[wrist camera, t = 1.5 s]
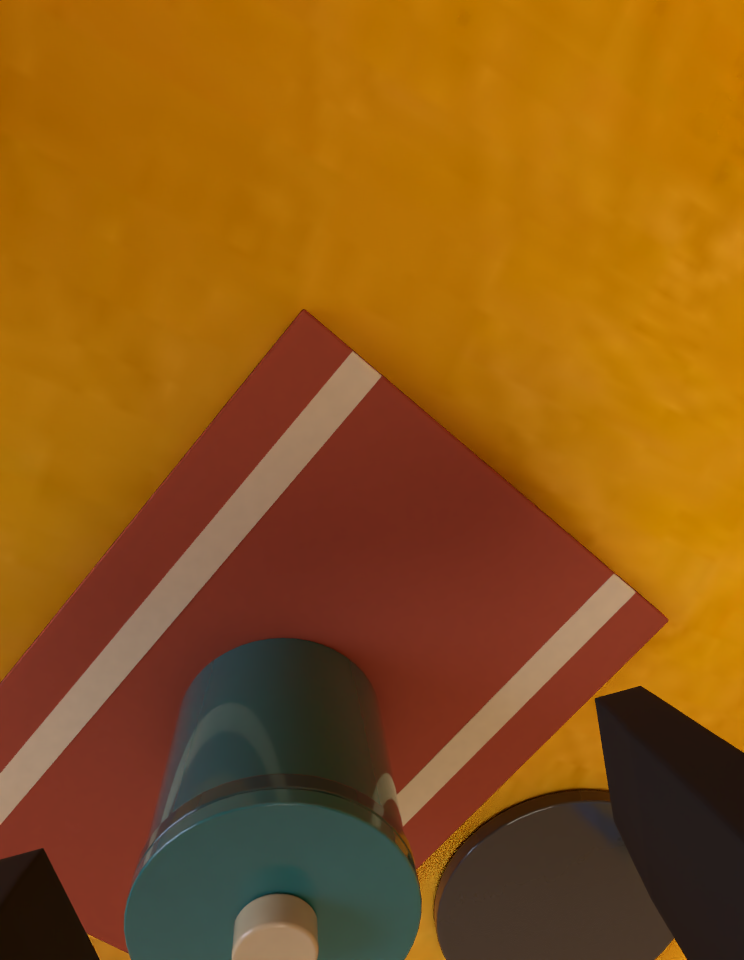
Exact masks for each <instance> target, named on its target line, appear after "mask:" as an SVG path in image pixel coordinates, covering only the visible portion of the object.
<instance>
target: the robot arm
mask: <svg viewBox="0 0 744 960" xmlns="http://www.w3.org/2000/svg"><path fill="white" fill-rule="evenodd" d="M595 703H596V709H597V716H598V722H599V729H600V735H601V742H602V748H603V755H604V761H605V768H606V774H607V780H608V787H609V793H610V800H611V806H612V813H613V819H614V822H615V825H616V827H617V829H618V831H619V833H620V835H621V837H622V839H623V842H624V844H625V846H626V848H627V850H628V852H629V854H630V857H631V859H632V861H633V863H634V865H635V867H636V869H637V871H638V873H639V875H640V877H641V879H642V881H643V883H644V885H645V888H646V890H647V892H648V894H649V896H650V898H651V900H652V902H653V903H654V905H655V907H656V908H657V910H658V912H659V913H660V915H661V917H662V918H663V920H664V922H665V923H666V925H667V927H668V928H669V930H670V932H671V933H672V935H673V937H674V938H675V940H676V942H677V943H678V945H679V947H680V948H681V950H682V951H683V953H684V955H685V956H686V958H687V960H744V753H743V752H742V751H740V750H739V749H737V748H735V747H734V746H732V745H731V744H729V743H728V742H726V741H725V740H723V739H721V738H720V737H718V736H717V735H715V734H714V733H712V732H711V731H709V730H708V729H706V728H704V727H703V726H701V725H700V724H698V723H697V722H695V721H694V720H692V719H691V718H689V717H688V716H686V715H685V714H683V713H682V712H680V711H679V710H677V709H676V708H674V707H673V706H671V705H669V704H668V703H666V702H665V701H663V700H662V699H660V698H659V697H657V696H656V695H654V694H653V693H651V692H649V691H648V690H646V689H645V688H643V687H641V686H638V687H635V688H631V689H627V690H624V691H620V692H616V693H613V694H609V695H605V696H601V697H598V698H595ZM0 960H100V959H99V957H98V955H97V953H96V951H95V949H94V947H93V945H92V943H91V941H90V940H89V938H88V936H87V934H86V932H85V930H84V928H83V926H82V924H81V922H80V920H79V918H78V916H77V914H76V912H75V910H74V908H73V906H72V904H71V902H70V900H69V898H68V896H67V894H66V892H65V890H64V888H63V886H62V884H61V882H60V880H59V878H58V876H57V874H56V872H55V870H54V868H53V866H52V864H51V862H50V860H49V858H48V856H47V854H46V852H45V850H44V848H41V849H37V850H33V851H30V852H26V853H22V854H19V855H15V856H11V857H7V858H4V859H0Z"/></svg>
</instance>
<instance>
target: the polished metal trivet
mask: <svg viewBox="0 0 744 960" xmlns="http://www.w3.org/2000/svg"><path fill="white" fill-rule="evenodd" d="M434 920H435V927H436V932H437V937H438V941H439V944H440V947H441V950H442V953H443V955H444V957H445V958H446V960H655V959H656V958H657V957H658V956H659V955H660V954H661V953H662V952H663V951H664V950H665V949H666V947H667V946H668V945H669V944H670V943H671V941H672V940H673V939H674V937H673V935H672V933H671V932H670V930H669V928H668V927H667V925H666V923H665V922H664V920H663V918H662V917H661V915H660V913H659V912H658V910H657V908H656V907H655V905H654V903H653V902H652V900H651V898H650V896H649V894H648V892H647V890H646V888H645V885H644V883H643V881H642V879H641V877H640V875H639V873H638V871H637V869H636V867H635V865H634V863H633V861H632V859H631V857H630V854H629V852H628V850H627V848H626V846H625V844H624V842H623V839H622V837H621V835H620V833H619V831H618V829H617V827H616V825H615V822H614V819H613V813H612V806H611V800H610V793H609V792H605V791H598V790H576V791H564V792H559V793H554V794H548V795H544V796H541V797H538V798H534V799H531V800H528V801H526V802H523V803H521V804H519V805H516V806H514V807H512V808H510V809H508V810H506V811H504V812H503V813H501V814H499V815H497V816H496V817H494V818H493V819H491V820H490V821H488V822H487V823H486V824H484V825H483V826H481V827H480V828H479V829H478V830H477V831H476V832H475V833H473V834H472V835H471V836H470V837H469V838H468V839H467V840H466V841H465V842H464V843H463V845H462V846H461V847H460V848H459V849H458V850H457V852H456V853H455V855H454V856H453V857H452V859H451V860H450V862H449V863H448V865H447V867H446V869H445V871H444V873H443V875H442V877H441V880H440V883H439V886H438V888H437V893H436V898H435V903H434Z"/></svg>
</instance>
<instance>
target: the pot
mask: <svg viewBox="0 0 744 960" xmlns="http://www.w3.org/2000/svg"><path fill="white" fill-rule="evenodd" d="M421 903H422V899H421V892H420V886H419V881H418V876H417V871H416V866H415V861H414V856H413V853H412V850H411V847H410V844H409V841H408V840H407V838H406V836H405V834H404V830H403V825H402V819H401V814H400V809H399V804H398V799H397V793H396V788H395V783H394V778H393V773H392V767H391V762H390V757H389V752H388V747H387V741H386V736H385V731H384V726H383V721H382V715H381V710H380V705H379V701H378V698H377V695H376V692H375V690H374V688H373V686H372V684H371V682H370V681H369V680H368V678H367V677H366V675H365V674H364V673H363V672H362V671H361V670H360V668H359V667H358V666H357V665H356V664H355V663H353V662H352V661H351V660H349V659H348V658H347V657H346V656H344V655H342V654H341V653H339V652H337V651H336V650H334V649H332V648H329V647H327V646H325V645H323V644H319V643H316V642H312V641H309V640H303V639H297V638H270V639H264V640H258V641H253V642H250V643H247V644H244V645H241V646H238V647H236V648H234V649H232V650H229V651H228V652H226V653H224V654H222V655H221V656H219V657H217V658H216V659H215V660H214V661H212V662H211V663H210V664H208V665H207V666H206V667H205V668H204V669H203V670H202V671H201V672H200V673H199V674H198V675H197V676H196V678H195V679H194V680H193V682H192V683H191V684H190V686H189V688H188V689H187V691H186V693H185V695H184V697H183V700H182V702H181V705H180V708H179V712H178V716H177V720H176V724H175V729H174V733H173V737H172V741H171V745H170V749H169V753H168V757H167V761H166V765H165V769H164V773H163V777H162V781H161V786H160V790H159V794H158V798H157V802H156V806H155V810H154V814H153V818H152V822H151V826H150V830H149V834H148V838H147V842H146V844H145V846H144V848H143V850H142V851H141V853H140V856H139V858H138V861H137V864H136V866H135V869H134V873H133V877H132V881H131V885H130V889H129V893H128V897H127V901H126V906H125V911H124V935H125V942H126V947H127V949H128V952H129V955H130V958H131V960H404V959H405V958H406V957H407V955H408V953H409V951H410V949H411V947H412V945H413V943H414V940H415V937H416V935H417V932H418V929H419V924H420V918H421Z"/></svg>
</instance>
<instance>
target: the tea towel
mask: <svg viewBox="0 0 744 960" xmlns="http://www.w3.org/2000/svg"><path fill="white" fill-rule="evenodd" d="M667 622H668V619H667V618H666V617H665V616H664V615H663V614H662V613H661V612H660V611H659V610H658V609H656V608H655V607H654V606H653V605H652V604H650V603H649V602H648V601H647V600H646V599H645V598H643V597H642V596H641V595H640V594H639V593H638V592H636V591H635V590H634V589H633V588H632V587H631V586H629V585H628V584H627V583H626V582H625V581H623V580H622V579H621V578H620V577H619V576H618V575H616V574H615V573H614V572H613V571H612V570H611V569H609V568H608V567H607V566H606V565H605V564H603V563H602V562H601V561H600V560H599V559H598V558H596V557H595V556H594V555H593V554H592V553H591V552H589V551H588V550H587V549H586V548H585V547H584V546H582V545H581V544H580V543H579V542H578V541H576V540H575V539H574V538H573V537H572V536H571V535H569V534H568V533H567V532H566V531H565V530H564V529H562V528H561V527H560V526H559V525H558V524H556V523H555V522H554V521H553V520H552V519H551V518H549V517H548V516H547V515H546V514H545V513H544V512H542V511H541V510H540V509H539V508H538V507H536V506H535V505H534V504H533V503H532V502H531V501H529V500H528V499H527V498H526V497H525V496H524V495H522V494H521V493H520V492H519V491H518V490H517V489H515V488H514V487H513V486H512V485H511V484H509V483H508V482H507V481H506V480H505V479H504V478H502V477H501V476H500V475H499V474H498V473H497V472H495V471H494V470H493V469H492V468H491V467H489V466H488V465H487V464H486V463H485V462H484V461H482V460H481V459H480V458H479V457H478V456H477V455H475V454H474V453H473V452H472V451H471V450H470V449H468V448H467V447H466V446H465V445H464V444H462V443H461V442H460V441H459V440H458V439H457V438H455V437H454V436H453V435H452V434H451V433H450V432H448V431H447V430H446V429H445V428H444V427H442V426H441V425H440V424H439V423H438V422H437V421H435V420H434V419H433V418H432V417H431V416H430V415H428V414H427V413H426V412H425V411H424V410H423V409H421V408H420V407H419V406H418V405H417V404H415V403H414V402H413V401H412V400H411V399H410V398H408V397H407V396H406V395H405V394H404V393H403V392H401V391H400V390H399V389H398V388H397V387H395V386H394V385H393V384H392V383H391V382H390V381H388V380H387V379H386V378H385V377H384V376H383V375H381V374H380V373H379V372H378V371H377V370H375V369H374V368H373V367H372V366H371V365H370V364H368V363H367V362H366V361H365V360H364V359H363V358H361V357H360V356H359V355H358V354H357V353H356V352H354V351H353V350H352V349H351V348H350V347H348V346H347V345H346V344H345V343H344V342H343V341H341V340H340V339H339V338H338V337H337V336H336V335H334V334H333V333H332V332H331V331H330V330H328V329H327V328H326V327H325V326H324V325H323V324H321V323H320V322H319V321H318V320H317V319H316V318H314V317H313V316H312V315H311V314H310V313H309V312H307V311H306V310H304V309H303V310H302V311H301V312H300V313H299V315H298V316H297V317H296V318H295V320H294V321H293V322H292V323H291V325H290V326H289V327H288V328H287V329H286V331H285V332H284V333H283V334H282V336H281V337H280V338H279V339H278V341H277V342H276V343H275V344H274V346H273V347H272V348H271V349H270V350H269V352H268V353H267V354H266V355H265V357H264V358H263V359H262V360H261V362H260V363H259V364H258V365H257V367H256V368H255V369H254V370H253V372H252V373H251V374H250V375H249V376H248V378H247V379H246V380H245V381H244V383H243V384H242V385H241V386H240V388H239V389H238V390H237V391H236V393H235V394H234V395H233V396H232V397H231V399H230V400H229V401H228V402H227V404H226V405H225V406H224V407H223V409H222V410H221V411H220V412H219V414H218V415H217V416H216V417H215V418H214V420H213V421H212V422H211V423H210V425H209V426H208V427H207V428H206V430H205V431H204V432H203V433H202V435H201V436H200V437H199V438H198V439H197V441H196V442H195V443H194V444H193V446H192V447H191V448H190V449H189V451H188V452H187V453H186V454H185V456H184V457H183V458H182V459H181V460H180V462H179V463H178V464H177V465H176V467H175V468H174V469H173V470H172V472H171V473H170V474H169V475H168V477H167V478H166V479H165V480H164V482H163V483H162V484H161V485H160V486H159V488H158V489H157V490H156V491H155V493H154V494H153V495H152V496H151V498H150V499H149V500H148V501H147V503H146V504H145V505H144V506H143V507H142V509H141V510H140V511H139V512H138V514H137V515H136V516H135V517H134V519H133V520H132V521H131V522H130V524H129V525H128V526H127V527H126V528H125V530H124V531H123V532H122V533H121V535H120V536H119V537H118V538H117V540H116V541H115V542H114V543H113V545H112V546H111V547H110V548H109V549H108V551H107V552H106V553H105V554H104V556H103V557H102V558H101V559H100V561H99V562H98V563H97V564H96V566H95V567H94V568H93V569H92V570H91V572H90V573H89V574H88V575H87V577H86V578H85V579H84V580H83V582H82V583H81V584H80V585H79V587H78V588H77V589H76V590H75V592H74V593H73V594H72V595H71V596H70V598H69V599H68V600H67V601H66V603H65V604H64V605H63V606H62V608H61V609H60V610H59V611H58V613H57V614H56V615H55V616H54V617H53V619H52V620H51V621H50V622H49V624H48V625H47V626H46V627H45V629H44V630H43V631H42V632H41V634H40V635H39V636H38V637H37V638H36V640H35V641H34V642H33V643H32V645H31V646H30V647H29V648H28V650H27V651H26V652H25V653H24V655H23V656H22V657H21V658H20V659H19V661H18V662H17V663H16V664H15V666H14V667H13V668H12V669H11V671H10V672H9V673H8V674H7V676H6V677H5V678H4V679H3V680H2V682H1V683H0V859H4V858H7V857H11V856H15V855H19V854H22V853H26V852H30V851H33V850H37V849H41V848H44V850H45V852H46V854H47V856H48V858H49V860H50V862H51V864H52V866H53V868H54V870H55V872H56V874H57V876H58V878H59V880H60V882H61V884H62V886H63V888H64V890H65V892H66V894H67V896H68V898H69V900H70V902H71V904H72V906H73V908H74V910H75V912H76V914H77V916H78V918H79V920H80V922H81V924H82V926H83V928H84V930H85V932H86V933H87V934H89V935H91V936H93V937H96V938H98V939H100V940H102V941H104V942H106V943H108V944H110V945H112V946H114V947H116V948H118V949H120V950H122V951H125V952H127V953H129V952H128V949H127V947H126V942H125V935H124V911H125V906H126V901H127V897H128V893H129V889H130V885H131V881H132V877H133V873H134V869H135V866H136V864H137V861H138V858H139V856H140V853H141V851H142V850H143V848H144V846H145V844H146V842H147V838H148V834H149V830H150V826H151V822H152V818H153V814H154V810H155V806H156V802H157V798H158V794H159V790H160V786H161V781H162V777H163V773H164V769H165V765H166V761H167V757H168V753H169V749H170V745H171V741H172V737H173V733H174V729H175V724H176V720H177V716H178V712H179V708H180V705H181V702H182V700H183V697H184V695H185V693H186V691H187V689H188V688H189V686H190V684H191V683H192V682H193V680H194V679H195V678H196V676H197V675H198V674H199V673H200V672H201V671H202V670H203V669H204V668H205V667H206V666H207V665H208V664H210V663H211V662H212V661H214V660H215V659H216V658H217V657H219V656H221V655H222V654H224V653H226V652H228V651H229V650H232V649H234V648H236V647H238V646H241V645H244V644H247V643H250V642H253V641H258V640H264V639H270V638H297V639H303V640H309V641H312V642H316V643H319V644H323V645H325V646H327V647H329V648H332V649H334V650H336V651H337V652H339V653H341V654H342V655H344V656H346V657H347V658H348V659H349V660H351V661H352V662H353V663H355V664H356V665H357V666H358V667H359V668H360V670H361V671H362V672H363V673H364V674H365V675H366V677H367V678H368V680H369V681H370V682H371V684H372V686H373V688H374V690H375V692H376V695H377V698H378V701H379V705H380V710H381V715H382V721H383V726H384V731H385V736H386V741H387V747H388V752H389V757H390V762H391V767H392V773H393V778H394V783H395V788H396V793H397V799H398V804H399V809H400V814H401V819H402V825H403V830H404V834H405V836H406V838H407V840H408V841H409V844H410V847H411V850H412V853H413V856H414V861H415V866H416V869H417V868H418V867H419V866H420V865H421V864H422V863H423V862H424V861H425V860H426V859H427V858H428V857H429V856H430V855H431V854H432V853H433V852H434V851H436V850H437V849H438V848H439V847H440V846H441V845H442V844H443V843H444V842H445V841H446V840H447V839H448V838H449V837H450V836H451V835H452V834H453V833H454V832H455V831H456V830H457V829H458V828H459V827H460V826H461V825H462V824H463V823H464V822H465V821H466V820H467V819H468V818H469V817H470V816H471V815H472V814H473V813H474V812H475V811H476V810H477V809H478V808H479V807H480V806H481V805H482V804H483V803H484V802H485V801H486V800H487V799H488V798H489V797H490V796H491V795H492V794H493V793H494V792H495V791H496V790H497V789H498V788H499V787H500V786H501V785H503V784H504V783H505V782H506V781H507V780H508V779H509V778H510V777H511V776H512V775H513V774H514V773H515V772H516V771H517V770H518V769H519V768H520V767H521V766H522V765H523V764H524V763H525V762H526V761H527V760H528V759H529V758H530V757H531V756H532V755H533V754H534V753H535V752H536V751H537V750H538V749H539V748H540V747H541V746H542V745H543V744H544V743H545V742H546V741H547V740H548V739H549V738H550V737H551V736H552V735H553V734H554V733H555V732H556V731H557V730H558V729H559V728H560V727H561V726H562V725H563V724H564V723H565V722H566V721H567V720H569V719H570V718H571V717H572V716H573V715H574V714H575V713H576V712H577V711H578V710H579V709H580V708H581V707H582V706H583V705H584V704H585V703H586V702H587V701H588V700H589V699H590V698H591V697H592V696H593V695H594V694H595V693H596V692H597V691H598V690H599V689H600V688H601V687H602V686H603V685H604V684H605V683H606V682H607V681H608V680H609V679H610V678H611V677H612V676H613V675H614V674H615V673H616V672H617V671H618V670H619V669H620V668H621V667H622V666H623V665H624V664H625V663H626V662H627V661H628V660H629V659H630V658H631V657H632V656H633V655H634V654H636V653H637V652H638V651H639V650H640V649H641V648H642V647H643V646H644V645H645V644H646V643H647V642H648V641H649V640H650V639H651V638H652V637H653V636H654V635H655V634H656V633H657V632H658V631H659V630H660V629H661V628H662V627H663V626H664V625H665V624H666V623H667Z"/></svg>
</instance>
